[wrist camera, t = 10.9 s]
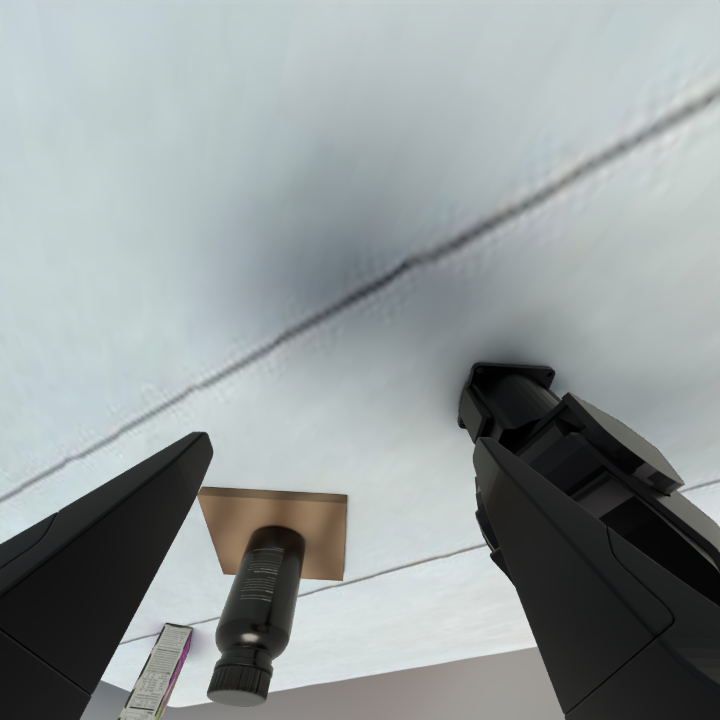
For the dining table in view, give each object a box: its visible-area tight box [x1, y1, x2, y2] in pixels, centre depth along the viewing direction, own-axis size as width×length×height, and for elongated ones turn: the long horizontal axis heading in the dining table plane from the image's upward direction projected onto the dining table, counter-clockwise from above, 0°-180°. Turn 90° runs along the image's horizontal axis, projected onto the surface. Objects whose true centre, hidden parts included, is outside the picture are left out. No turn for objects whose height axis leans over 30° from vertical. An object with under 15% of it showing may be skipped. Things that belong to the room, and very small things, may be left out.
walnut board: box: [197, 487, 347, 581], centre depth 33 cm, size 16×16×1 cm
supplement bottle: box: [207, 527, 305, 707], centre depth 27 cm, size 7×7×12 cm
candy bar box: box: [118, 624, 192, 720], centre depth 41 cm, size 11×5×16 cm, turn 160°
